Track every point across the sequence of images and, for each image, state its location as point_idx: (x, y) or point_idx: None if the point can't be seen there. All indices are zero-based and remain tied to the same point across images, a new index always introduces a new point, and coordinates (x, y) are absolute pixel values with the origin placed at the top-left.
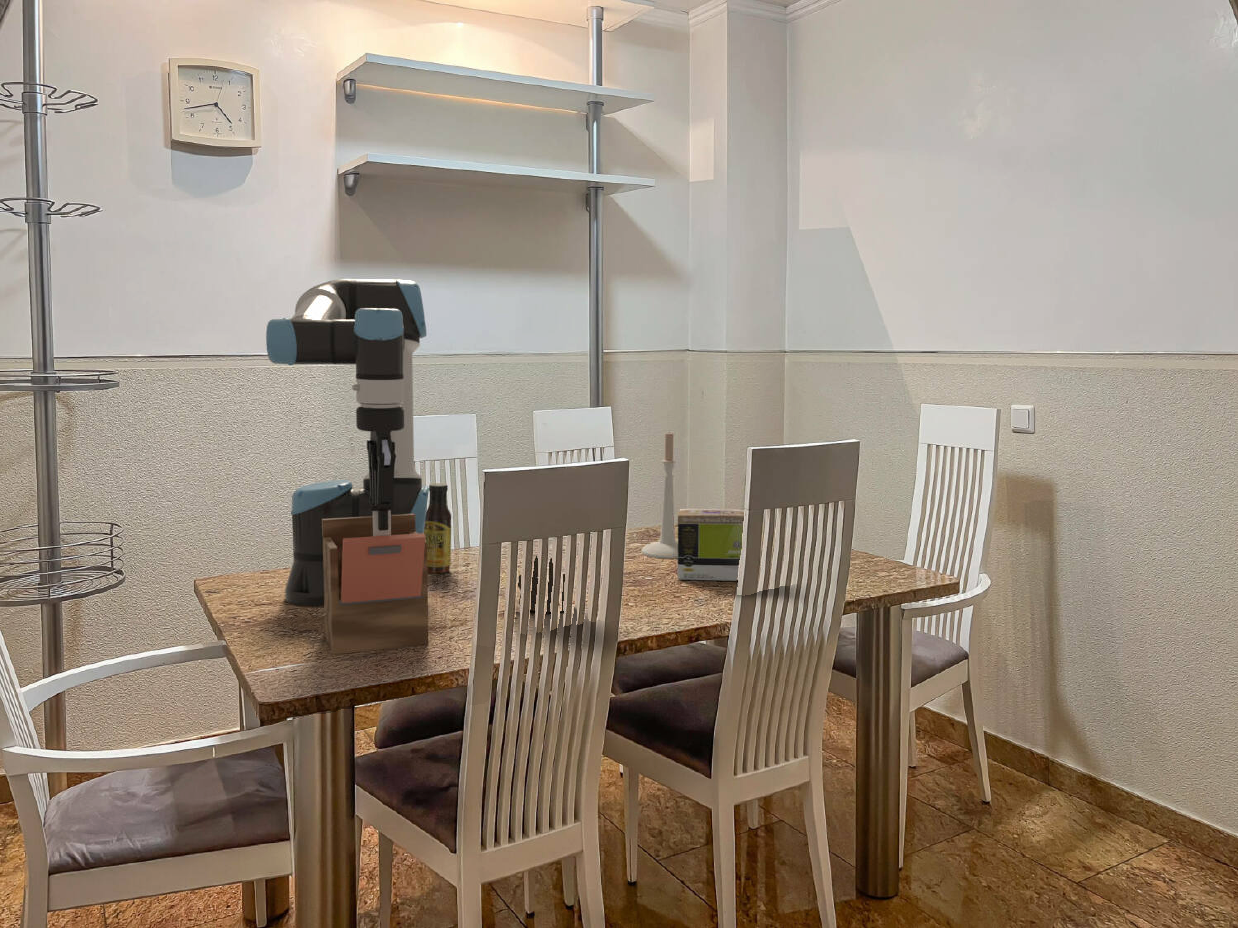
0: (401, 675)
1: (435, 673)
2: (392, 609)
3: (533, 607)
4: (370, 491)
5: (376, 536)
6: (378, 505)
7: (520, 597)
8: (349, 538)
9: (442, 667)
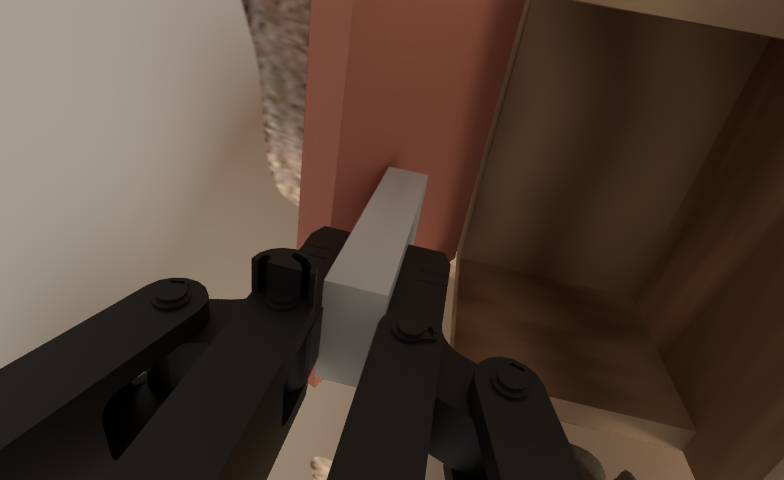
0: (284, 75)
1: (270, 142)
2: (481, 167)
3: None
4: (547, 451)
5: (331, 193)
6: (134, 296)
7: (576, 458)
8: (344, 24)
9: (299, 169)
